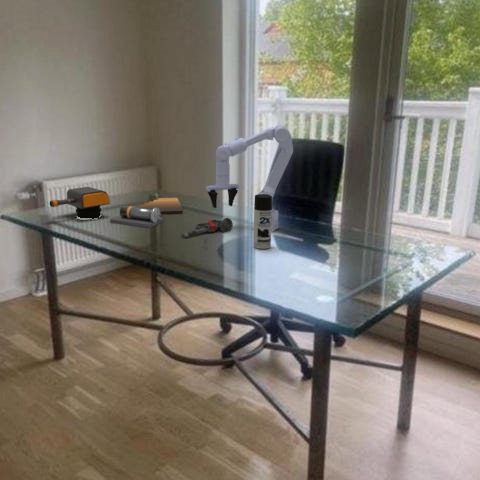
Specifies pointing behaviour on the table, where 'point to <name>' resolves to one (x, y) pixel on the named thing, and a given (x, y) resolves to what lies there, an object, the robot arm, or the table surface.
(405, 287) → the table surface
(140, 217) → the pipe stub
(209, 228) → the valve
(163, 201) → the pan flute
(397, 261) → the table surface
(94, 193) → the sander
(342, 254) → the table surface
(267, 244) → the spray can
